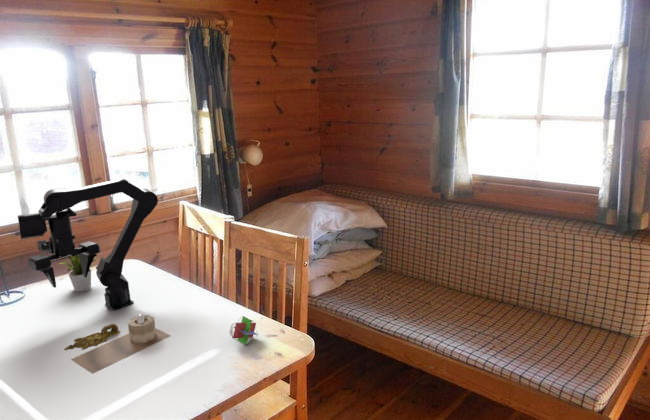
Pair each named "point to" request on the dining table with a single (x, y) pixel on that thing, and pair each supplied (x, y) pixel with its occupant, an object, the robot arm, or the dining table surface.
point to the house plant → (78, 274)
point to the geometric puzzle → (243, 330)
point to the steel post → (140, 319)
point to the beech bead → (142, 330)
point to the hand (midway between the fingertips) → (70, 282)
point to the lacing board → (114, 352)
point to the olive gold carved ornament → (95, 338)
